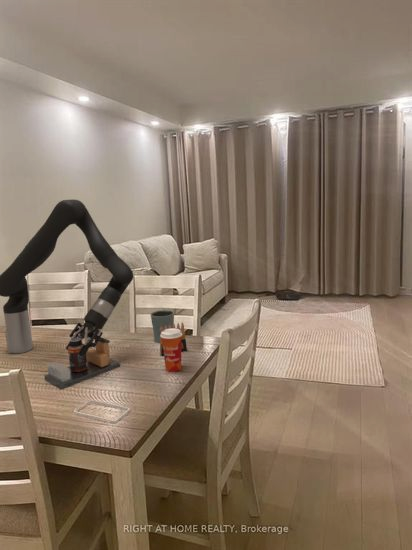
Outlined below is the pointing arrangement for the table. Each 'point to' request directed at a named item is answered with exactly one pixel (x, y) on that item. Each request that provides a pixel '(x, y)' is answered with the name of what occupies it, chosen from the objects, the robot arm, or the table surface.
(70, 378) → the base
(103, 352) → the sliding jaw
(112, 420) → the phone case
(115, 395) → the table surface
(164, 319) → the green embossed pot
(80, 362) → the supplement bottle
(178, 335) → the paper cup
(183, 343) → the ammunition clip
